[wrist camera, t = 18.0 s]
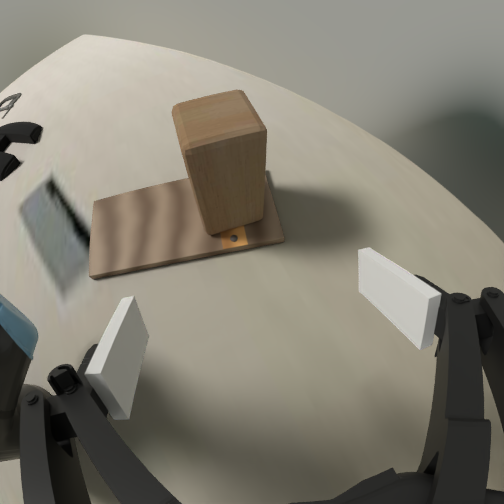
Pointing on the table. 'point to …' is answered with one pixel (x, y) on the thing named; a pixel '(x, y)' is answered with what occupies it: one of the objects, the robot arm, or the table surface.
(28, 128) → the black notched oval shell
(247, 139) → the wooden block
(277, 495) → the table surface
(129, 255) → the floor board
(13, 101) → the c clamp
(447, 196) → the table surface
